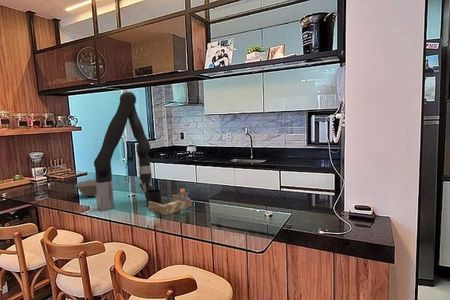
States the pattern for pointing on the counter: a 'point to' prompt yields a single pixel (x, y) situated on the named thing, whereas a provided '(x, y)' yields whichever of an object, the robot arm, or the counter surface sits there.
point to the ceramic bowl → (87, 187)
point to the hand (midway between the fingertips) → (147, 198)
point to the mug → (154, 196)
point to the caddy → (171, 204)
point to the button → (182, 191)
